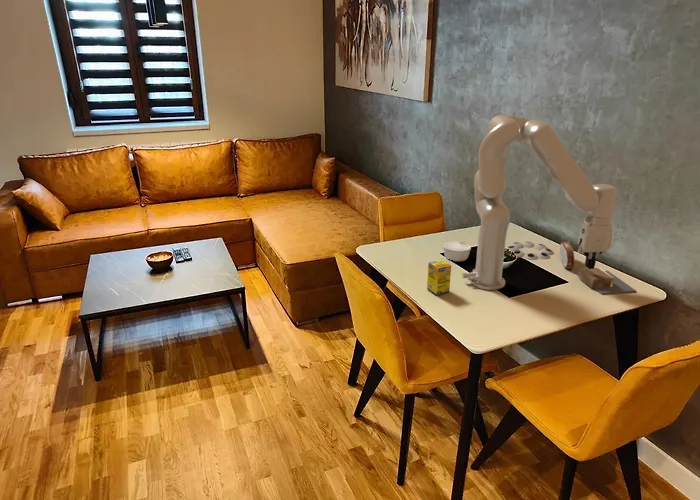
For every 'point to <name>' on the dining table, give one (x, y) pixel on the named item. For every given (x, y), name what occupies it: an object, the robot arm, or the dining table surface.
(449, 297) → the dining table surface
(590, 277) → the block
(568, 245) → the tin
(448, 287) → the supplement box
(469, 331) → the dining table surface
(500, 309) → the dining table surface
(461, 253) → the ramekin
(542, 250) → the paint palette
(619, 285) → the mat
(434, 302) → the dining table surface
